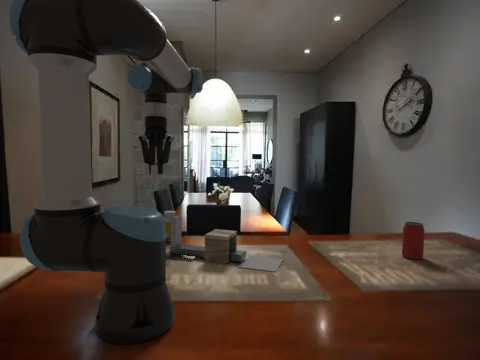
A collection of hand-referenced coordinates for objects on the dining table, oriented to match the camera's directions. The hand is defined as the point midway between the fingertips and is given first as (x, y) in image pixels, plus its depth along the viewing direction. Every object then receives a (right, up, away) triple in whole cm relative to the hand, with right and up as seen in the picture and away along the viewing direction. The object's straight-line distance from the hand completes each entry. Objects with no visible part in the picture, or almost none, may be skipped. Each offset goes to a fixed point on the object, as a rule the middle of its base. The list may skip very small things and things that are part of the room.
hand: (156, 183), depth 111 cm
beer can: (+90, -26, -2) cm, 94 cm away
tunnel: (+23, -25, -6) cm, 35 cm away
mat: (+37, -26, -10) cm, 46 cm away
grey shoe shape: (+10, -25, -2) cm, 27 cm away
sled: (+19, -24, -5) cm, 31 cm away
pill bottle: (+1, -24, +18) cm, 30 cm away
